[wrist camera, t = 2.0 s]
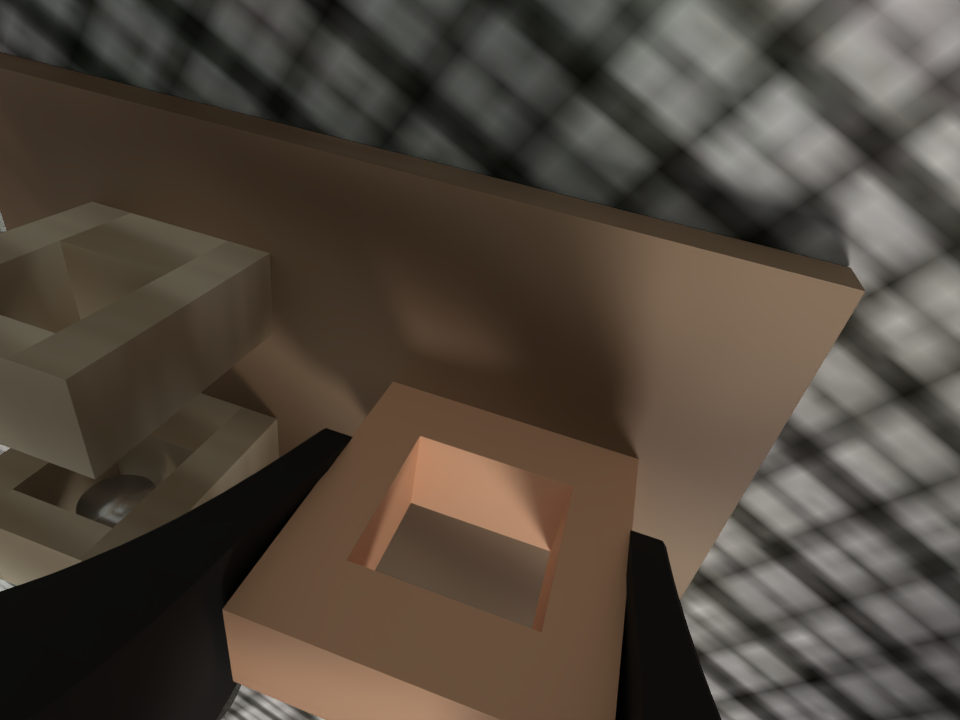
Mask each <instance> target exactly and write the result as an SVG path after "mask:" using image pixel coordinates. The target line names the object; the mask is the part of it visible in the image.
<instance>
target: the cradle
mask: <svg viewBox="0 0 960 720" xmlns="http://www.w3.org/2000/svg"><path fill="white" fill-rule="evenodd" d="M0 210H1V214H2V217H3V220H4V223H5V226H6V230H7V231H6V232H3V233H0V444H2V445H4V446H7V447H10V449H9V450H7V451H6V452H4V453H3V454H1V455H0V579H3V580H5V581H7V582H10V583H12V584H15V585H17V586H18V585H21V584H24V583H27V582H29V581H32V580H35V579H38V578H41V577H44V576H46V575H49V574H52V573H54V572H57V571H60V570H62V569H65V568H67V567H70V566H72V565H75V564H77V563H80V562H82V561H84V560H87V559H89V558H92V557H94V556H96V555H99V554H101V553H103V552H106V551H108V550H110V549H113V548H115V547H117V546H120V545H122V544H124V543H126V542H129V541H131V540H133V539H135V538H137V537H139V536H141V535H143V534H146V533H148V532H150V531H152V530H154V529H156V528H158V527H160V526H162V525H164V524H166V523H168V522H170V521H172V520H174V519H176V518H178V517H180V516H181V515H183V514H185V513H187V512H189V511H191V510H192V509H194V508H196V507H198V506H200V505H201V504H203V503H205V502H207V501H209V500H210V499H212V498H214V497H216V496H218V495H219V494H221V493H223V492H225V491H226V490H228V489H230V488H231V487H233V486H235V485H236V484H238V483H240V482H241V481H243V480H244V479H246V478H248V477H249V476H251V475H253V474H254V473H256V472H257V471H259V470H261V469H262V468H264V467H266V466H267V465H269V464H270V463H272V462H273V461H275V460H276V459H278V458H280V457H281V456H283V455H284V454H286V453H287V452H289V451H290V450H292V449H293V448H295V447H296V446H298V445H299V444H301V443H302V442H304V441H305V440H307V439H308V438H310V437H311V436H313V435H315V434H316V433H318V432H319V431H321V430H323V429H325V428H328V429H331V430H334V431H336V432H339V433H342V434H345V435H348V436H351V437H352V436H353V434H354V433H355V432H356V430H357V429H358V428H359V426H360V425H361V424H362V422H363V421H364V420H365V418H366V417H367V416H368V414H369V413H370V412H371V410H372V409H373V408H374V406H375V405H376V404H377V402H378V401H379V400H380V398H381V397H382V396H383V394H384V393H385V392H386V390H387V389H388V388H389V386H390V385H391V384H392V382H396V383H399V384H402V385H406V386H409V387H412V388H415V389H418V390H421V391H424V392H428V393H431V394H434V395H437V396H440V397H443V398H447V399H450V400H453V401H456V402H459V403H462V404H466V405H469V406H472V407H475V408H478V409H481V410H485V411H488V412H491V413H494V414H497V415H500V416H504V417H507V418H510V419H513V420H516V421H519V422H523V423H526V424H529V425H532V426H535V427H538V428H542V429H545V430H548V431H551V432H554V433H557V434H561V435H564V436H567V437H570V438H573V439H576V440H580V441H583V442H586V443H589V444H592V445H595V446H599V447H602V448H605V449H608V450H611V451H614V452H618V453H621V454H624V455H627V456H630V457H633V458H637V459H639V461H638V472H637V483H636V494H635V506H634V517H633V528H632V531H635V532H638V533H641V534H644V535H647V536H650V537H653V538H656V539H659V540H662V541H663V542H664V544H665V545H666V548H667V552H668V557H669V561H670V565H671V569H672V573H673V577H674V581H675V585H676V589H677V592H678V596H679V599H681V597H682V596H683V594H684V592H685V591H686V589H687V587H688V586H689V584H690V582H691V581H692V579H693V577H694V576H695V574H696V572H697V571H698V569H699V567H700V566H701V564H702V562H703V561H704V559H705V557H706V556H707V554H708V552H709V551H710V549H711V547H712V546H713V544H714V542H715V541H716V539H717V537H718V536H719V534H720V532H721V531H722V529H723V527H724V526H725V524H726V522H727V521H728V519H729V517H730V516H731V514H732V512H733V511H734V509H735V507H736V506H737V504H738V502H739V501H740V499H741V497H742V496H743V494H744V492H745V491H746V489H747V487H748V486H749V484H750V482H751V481H752V479H753V477H754V476H755V474H756V472H757V471H758V469H759V467H760V466H761V464H762V462H763V461H764V459H765V457H766V456H767V454H768V452H769V451H770V449H771V447H772V446H773V444H774V442H775V441H776V439H777V438H778V436H779V434H780V433H781V431H782V429H783V428H784V426H785V424H786V423H787V421H788V419H789V418H790V416H791V414H792V413H793V411H794V409H795V408H796V406H797V404H798V403H799V401H800V399H801V398H802V396H803V394H804V393H805V391H806V389H807V388H808V386H809V384H810V383H811V381H812V379H813V378H814V376H815V374H816V373H817V371H818V369H819V368H820V366H821V364H822V363H823V361H824V359H825V358H826V356H827V354H828V353H829V351H830V349H831V348H832V346H833V344H834V343H835V341H836V339H837V338H838V336H839V334H840V333H841V331H842V329H843V328H844V326H845V324H846V323H847V321H848V319H849V318H850V316H851V314H852V313H853V311H854V309H855V308H856V306H857V304H858V303H859V301H860V299H861V298H862V296H863V294H864V293H865V290H864V288H863V287H862V285H861V283H860V282H859V280H858V279H857V277H856V276H855V274H854V272H853V271H852V269H851V268H850V267H846V266H842V265H838V264H834V263H830V262H826V261H822V260H818V259H814V258H810V257H806V256H802V255H798V254H794V253H790V252H786V251H783V250H779V249H775V248H771V247H767V246H763V245H759V244H755V243H751V242H747V241H743V240H739V239H735V238H731V237H727V236H723V235H719V234H715V233H711V232H708V231H704V230H700V229H696V228H692V227H688V226H684V225H680V224H676V223H672V222H668V221H664V220H660V219H656V218H652V217H648V216H644V215H640V214H637V213H633V212H629V211H625V210H621V209H617V208H613V207H609V206H605V205H601V204H597V203H593V202H589V201H585V200H581V199H577V198H573V197H569V196H565V195H562V194H558V193H554V192H550V191H546V190H542V189H538V188H534V187H530V186H526V185H522V184H518V183H514V182H510V181H506V180H502V179H498V178H494V177H490V176H487V175H483V174H479V173H475V172H471V171H467V170H463V169H459V168H455V167H451V166H447V165H443V164H439V163H435V162H431V161H427V160H423V159H419V158H416V157H412V156H408V155H404V154H400V153H396V152H392V151H388V150H384V149H380V148H376V147H372V146H368V145H364V144H360V143H356V142H352V141H348V140H344V139H341V138H337V137H333V136H329V135H325V134H321V133H317V132H313V131H309V130H305V129H301V128H297V127H293V126H289V125H285V124H281V123H277V122H273V121H270V120H266V119H262V118H258V117H254V116H250V115H246V114H242V113H238V112H234V111H230V110H226V109H222V108H218V107H214V106H210V105H206V104H202V103H198V102H195V101H191V100H187V99H183V98H179V97H175V96H171V95H167V94H163V93H159V92H155V91H151V90H147V89H143V88H139V87H135V86H131V85H127V84H123V83H120V82H116V81H112V80H108V79H104V78H100V77H96V76H92V75H88V74H84V73H80V72H76V71H72V70H68V69H64V68H60V67H56V66H52V65H49V64H45V63H41V62H37V61H33V60H29V59H25V58H21V57H17V56H13V55H9V54H5V53H1V52H0ZM119 475H139V476H143V477H146V478H148V479H150V480H151V481H152V482H153V483H154V484H155V485H156V488H155V489H154V490H153V491H152V492H151V493H150V494H149V495H148V496H146V497H145V498H144V499H143V500H142V501H141V502H140V503H139V504H138V505H137V506H136V507H135V508H134V509H133V510H131V511H130V512H129V513H128V514H127V515H126V516H125V517H124V518H123V519H122V520H121V521H120V522H119V523H118V524H116V525H115V526H114V527H113V528H111V527H109V526H106V525H104V524H101V523H98V522H96V521H93V520H91V519H88V518H85V517H83V516H80V515H78V514H76V506H77V503H78V501H79V499H80V497H81V496H82V495H83V494H84V492H86V491H87V490H88V489H89V488H90V487H92V486H93V485H95V484H96V483H98V482H100V481H102V480H105V479H107V478H110V477H114V476H119ZM549 554H550V551H548V550H545V549H542V548H539V547H537V546H534V545H531V544H528V543H525V542H522V541H519V540H516V539H513V538H511V537H508V536H505V535H502V534H499V533H496V532H493V531H490V530H488V529H485V528H482V527H479V526H476V525H473V524H470V523H467V522H465V521H462V520H459V519H456V518H453V517H450V516H447V515H444V514H442V513H439V512H436V511H433V510H430V509H427V508H424V507H421V506H418V505H416V504H413V503H411V504H410V505H409V507H408V509H407V511H406V513H405V515H404V517H403V519H402V520H401V522H400V524H399V526H398V528H397V530H396V532H395V534H394V535H393V537H392V539H391V541H390V543H389V545H388V547H387V549H386V550H385V552H384V554H383V556H382V558H381V560H380V562H379V564H378V565H377V567H376V569H375V571H377V572H380V573H383V574H385V575H388V576H391V577H393V578H396V579H399V580H401V581H404V582H407V583H410V584H412V585H415V586H418V587H420V588H423V589H426V590H429V591H431V592H434V593H437V594H439V595H442V596H445V597H447V598H450V599H453V600H456V601H458V602H461V603H464V604H466V605H469V606H472V607H475V608H477V609H480V610H483V611H485V612H488V613H491V614H494V615H496V616H499V617H502V618H504V619H507V620H510V621H512V622H515V623H518V624H521V625H523V626H526V627H529V628H531V629H532V627H533V622H534V618H535V614H536V609H537V605H538V601H539V597H540V592H541V588H542V584H543V580H544V575H545V571H546V567H547V563H548V558H549Z"/></svg>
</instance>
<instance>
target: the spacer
mask: <svg viewBox="0 0 960 720" xmlns="http://www.w3.org/2000/svg"><path fill="white" fill-rule="evenodd" d="M352 437H353V438H352V439H351V440H350V442H349V443H348V444H347V446H346V447H345V448H344V450H343V451H342V452H341V454H340V455H339V457H338V458H337V459H336V461H335V462H334V463H333V465H332V466H331V467H330V469H329V470H328V471H327V472H326V473H325V474H324V476H323V477H322V478H321V479H320V480H319V481H318V482H317V484H316V485H315V486H314V488H313V489H312V490H311V492H310V493H309V494H308V496H307V497H306V498H305V500H304V501H303V502H302V504H301V505H300V506H299V508H298V509H297V510H296V512H295V513H294V514H293V516H292V517H291V518H290V520H289V521H288V522H287V524H286V525H285V526H284V528H283V529H282V530H281V532H280V533H279V534H278V536H277V537H276V538H275V540H274V541H273V542H272V544H271V545H270V546H269V548H268V549H267V550H266V552H265V553H264V554H263V556H262V557H261V558H260V560H259V561H258V562H257V564H256V565H255V566H254V568H253V569H252V570H251V572H250V573H249V574H248V576H247V577H246V578H245V580H244V581H243V582H242V584H241V585H240V586H239V588H238V589H237V590H236V592H235V593H234V594H233V596H232V597H231V598H230V600H229V601H228V602H227V604H226V605H225V606H224V608H223V609H222V611H223V617H224V624H225V631H226V637H227V644H228V651H229V657H230V664H231V670H232V677H233V681H234V682H236V683H239V684H241V685H244V686H246V687H248V688H251V689H253V690H256V691H258V692H260V693H263V694H265V695H268V696H270V697H272V698H275V699H277V700H280V701H282V702H284V703H287V704H289V705H292V706H294V707H296V708H299V709H301V710H304V711H306V712H308V713H311V714H313V715H316V716H318V717H320V718H323V719H325V720H615V717H616V706H617V695H618V683H619V672H620V661H621V650H622V639H623V628H624V617H625V606H626V594H627V588H626V572H627V561H628V551H629V540H630V530H632V528H633V517H634V506H635V494H636V483H637V472H638V461H639V459H637V458H633V457H630V456H627V455H624V454H621V453H618V452H614V451H611V450H608V449H605V448H602V447H599V446H595V445H592V444H589V443H586V442H583V441H580V440H576V439H573V438H570V437H567V436H564V435H561V434H557V433H554V432H551V431H548V430H545V429H542V428H538V427H535V426H532V425H529V424H526V423H523V422H519V421H516V420H513V419H510V418H507V417H504V416H500V415H497V414H494V413H491V412H488V411H485V410H481V409H478V408H475V407H472V406H469V405H466V404H462V403H459V402H456V401H453V400H450V399H447V398H443V397H440V396H437V395H434V394H431V393H428V392H424V391H421V390H418V389H415V388H412V387H409V386H406V385H402V384H399V383H396V382H392V384H391V385H390V386H389V388H388V389H387V390H386V392H385V393H384V394H383V396H382V397H381V398H380V400H379V401H378V402H377V404H376V405H375V406H374V408H373V409H372V410H371V412H370V413H369V414H368V416H367V417H366V418H365V420H364V421H363V422H362V424H361V425H360V426H359V428H358V429H357V430H356V432H355V433H354V434H353V436H352ZM411 503H413V504H416V505H418V506H421V507H424V508H427V509H430V510H433V511H436V512H439V513H442V514H444V515H447V516H450V517H453V518H456V519H459V520H462V521H465V522H467V523H470V524H473V525H476V526H479V527H482V528H485V529H488V530H490V531H493V532H496V533H499V534H502V535H505V536H508V537H511V538H513V539H516V540H519V541H522V542H525V543H528V544H531V545H534V546H537V547H539V548H542V549H545V550H548V551H550V554H549V558H548V563H547V567H546V571H545V575H544V580H543V584H542V588H541V592H540V597H539V601H538V605H537V609H536V614H535V618H534V622H533V627H532V629H531V628H529V627H526V626H523V625H521V624H518V623H515V622H512V621H510V620H507V619H504V618H502V617H499V616H496V615H494V614H491V613H488V612H485V611H483V610H480V609H477V608H475V607H472V606H469V605H466V604H464V603H461V602H458V601H456V600H453V599H450V598H447V597H445V596H442V595H439V594H437V593H434V592H431V591H429V590H426V589H423V588H420V587H418V586H415V585H412V584H410V583H407V582H404V581H401V580H399V579H396V578H393V577H391V576H388V575H385V574H383V573H380V572H377V571H375V569H376V567H377V565H378V564H379V562H380V560H381V558H382V556H383V554H384V552H385V550H386V549H387V547H388V545H389V543H390V541H391V539H392V537H393V535H394V534H395V532H396V530H397V528H398V526H399V524H400V522H401V520H402V519H403V517H404V515H405V513H406V511H407V509H408V507H409V505H410V504H411Z"/></svg>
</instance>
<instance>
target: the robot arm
mask: <svg viewBox="0 0 960 720" xmlns="http://www.w3.org/2000/svg"><path fill="white" fill-rule="evenodd" d="M352 438H353V437H351V436H348V435H345V434H342V433H339V432H336V431H334V430H331V429H328V428H325V429H323V430H321V431H319V432H318V433H316V434H315V435H313V436H311V437H310V438H308V439H307V440H305V441H304V442H302V443H301V444H299V445H298V446H296V447H295V448H293V449H292V450H290V451H289V452H287V453H286V454H284V455H283V456H281V457H280V458H278V459H276V460H275V461H273V462H272V463H270V464H269V465H267V466H266V467H264V468H262V469H261V470H259V471H257V472H256V473H254V474H253V475H251V476H249V477H248V478H246V479H244V480H243V481H241V482H240V483H238V484H236V485H235V486H233V487H231V488H230V489H228V490H226V491H225V492H223V493H221V494H219V495H218V496H216V497H214V498H212V499H210V500H209V501H207V502H205V503H203V504H201V505H200V506H198V507H196V508H194V509H192V510H191V511H189V512H187V513H185V514H183V515H181V516H180V517H178V518H176V519H174V520H172V521H170V522H168V523H166V524H164V525H162V526H160V527H158V528H156V529H154V530H152V531H150V532H148V533H146V534H143V535H141V536H139V537H137V538H135V539H133V540H131V541H129V542H126V543H124V544H122V545H120V546H117V547H115V548H113V549H110V550H108V551H106V552H103V553H101V554H99V555H96V556H94V557H92V558H89V559H87V560H84V561H82V562H80V563H77V564H75V565H72V566H70V567H67V568H65V569H62V570H60V571H57V572H54V573H52V574H49V575H46V576H44V577H41V578H38V579H35V580H32V581H29V582H27V583H24V584H21V585H18V586H15V587H12V588H10V589H7V590H4V591H1V592H0V720H217V718H218V716H219V714H220V713H221V711H222V709H223V707H224V706H225V704H226V702H227V700H228V699H229V697H230V695H231V693H232V692H233V690H234V688H235V686H236V684H237V683H236V682H234V681H233V677H232V670H231V664H230V657H229V651H228V644H227V637H226V631H225V624H224V617H223V611H222V609H223V608H224V606H225V605H226V604H227V602H228V601H229V600H230V598H231V597H232V596H233V594H234V593H235V592H236V590H237V589H238V588H239V586H240V585H241V584H242V582H243V581H244V580H245V578H246V577H247V576H248V574H249V573H250V572H251V570H252V569H253V568H254V566H255V565H256V564H257V562H258V561H259V560H260V558H261V557H262V556H263V554H264V553H265V552H266V550H267V549H268V548H269V546H270V545H271V544H272V542H273V541H274V540H275V538H276V537H277V536H278V534H279V533H280V532H281V530H282V529H283V528H284V526H285V525H286V524H287V522H288V521H289V520H290V518H291V517H292V516H293V514H294V513H295V512H296V510H297V509H298V508H299V506H300V505H301V504H302V502H303V501H304V500H305V498H306V497H307V496H308V494H309V493H310V492H311V490H312V489H313V488H314V486H315V485H316V484H317V482H318V481H319V480H320V479H321V478H322V477H323V476H324V474H325V473H326V472H327V471H328V470H329V469H330V467H331V466H332V465H333V463H334V462H335V461H336V459H337V458H338V457H339V455H340V454H341V452H342V451H343V450H344V448H345V447H346V446H347V444H348V443H349V442H350V440H351V439H352ZM626 588H627V594H626V606H625V617H624V628H623V639H622V650H621V661H620V672H619V683H618V695H617V706H616V717H615V720H721V717H720V715H719V712H718V710H717V707H716V705H715V702H714V699H713V697H712V694H711V692H710V689H709V687H708V684H707V681H706V678H705V676H704V673H703V670H702V667H701V665H700V662H699V659H698V656H697V653H696V650H695V647H694V644H693V641H692V638H691V635H690V632H689V629H688V626H687V623H686V619H685V616H684V613H683V609H682V606H681V603H680V599H679V596H678V592H677V589H676V585H675V581H674V577H673V573H672V569H671V565H670V561H669V557H668V552H667V548H666V545H665V544H664V542H663V541H662V540H659V539H656V538H653V537H650V536H647V535H644V534H641V533H638V532H635V531H632V530H630V540H629V551H628V561H627V572H626Z"/></svg>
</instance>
